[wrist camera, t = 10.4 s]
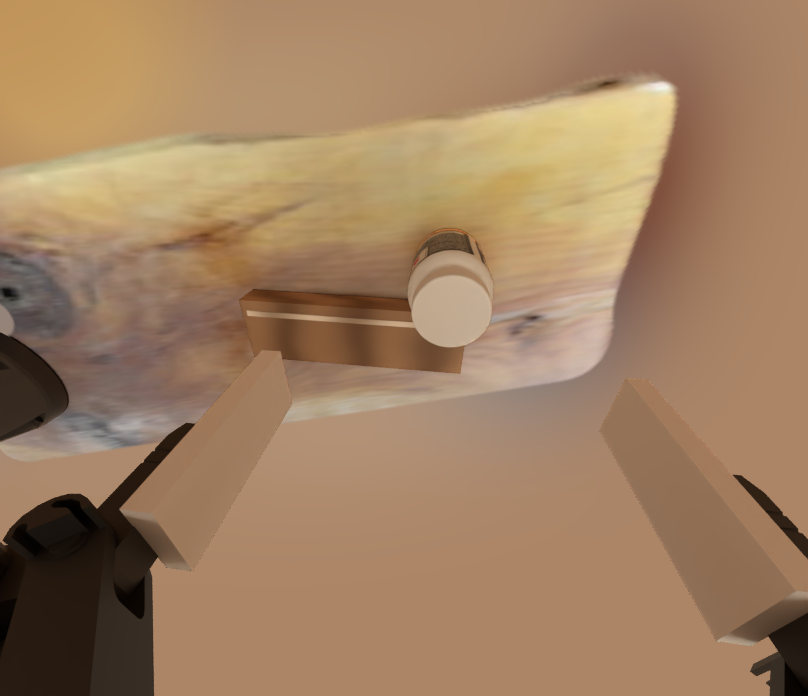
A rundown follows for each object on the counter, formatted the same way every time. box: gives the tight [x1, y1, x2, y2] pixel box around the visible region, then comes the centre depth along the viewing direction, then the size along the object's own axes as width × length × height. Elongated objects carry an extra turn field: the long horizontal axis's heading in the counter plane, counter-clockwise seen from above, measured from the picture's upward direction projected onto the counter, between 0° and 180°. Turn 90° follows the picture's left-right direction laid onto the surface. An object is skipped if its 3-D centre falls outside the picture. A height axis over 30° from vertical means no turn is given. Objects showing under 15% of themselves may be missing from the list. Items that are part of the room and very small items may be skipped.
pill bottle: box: [407, 229, 494, 347], centre depth 22 cm, size 6×6×10 cm
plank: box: [239, 289, 464, 374], centre depth 30 cm, size 20×6×3 cm, turn 89°
